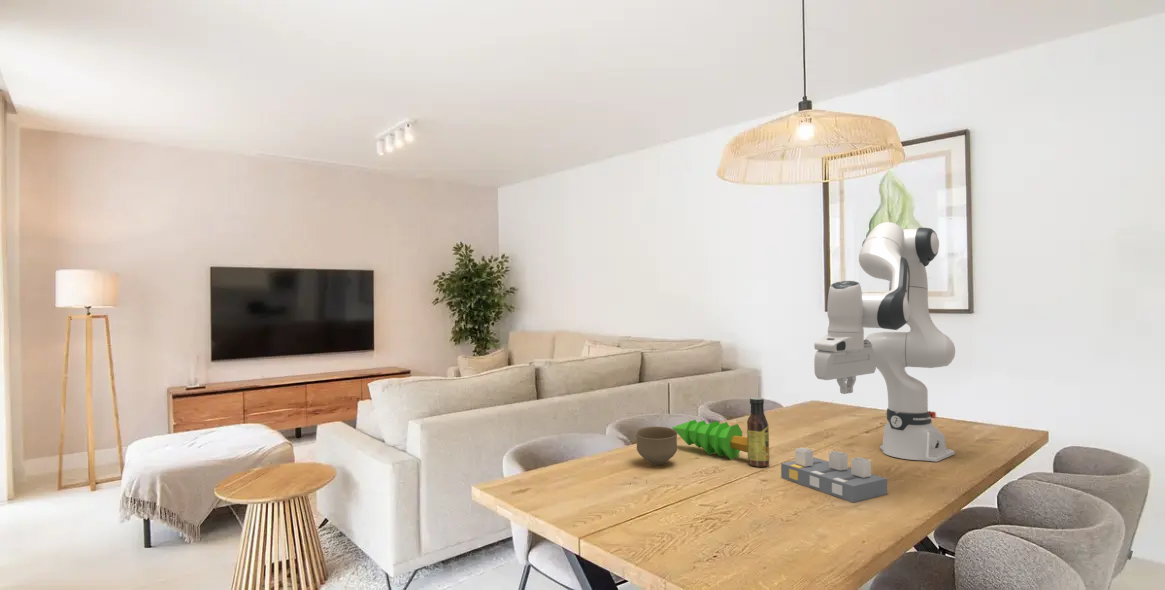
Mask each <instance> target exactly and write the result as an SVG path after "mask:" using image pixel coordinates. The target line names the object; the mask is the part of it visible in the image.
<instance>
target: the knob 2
mask: <svg viewBox="0 0 1165 590" xmlns="http://www.w3.org/2000/svg"><path fill="white" fill-rule="evenodd" d="M848 459H849V458H848V454H847V453H846V452H842V451H838V450H833V451H830V452H828V461H829V468H833V469H836V470H839V471H841V470H846V469H848V467H849V466H848V465H849V464H848V462H849V461H848Z"/></svg>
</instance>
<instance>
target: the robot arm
mask: <svg viewBox="0 0 1165 590" xmlns="http://www.w3.org/2000/svg"><path fill="white" fill-rule="evenodd" d="M860 248H861V249H860V250H859V254H858V263H859V266H860V267H861V268H862V270H863V272H865V273H866V274H868V275H869V276H870V277H872V278H875V279H879V280H885V281H889V282H888V288H889V289H888V291H884V292H862V285H861V283H859V282H857V281H855V280H843V281H837V282H836V281H835V282H833V283H832V284H830V286H829V288H828V289H829V290H828V295H827V311H826V312H827V318H828V321H829V322H828V328H827V334H826V335H825V336H823V337H821V338H820V339H818V340H816V341H815V342H814V344H813V345H814V346H813V348H814V350H816V352H815V354H814V365H813V366H814V367H813V368H814V374H815V377H816V378H817V379H818V380H821V381H822V380H823V381H831V380H836V382H837V384H838V386H839V392H840V393H841V394H842V395H846V394H852V393H853V392H854V385H855V383H856V381H857V376H863V375H869V374H870V375H871V374H874V373H875V372H876V370H877V369H878V371H879V372H880V373H881V375H882V377H883V379H884V380H885V383H886V389H887V390H886V391H887V403H888V405H887V406H888V407H887V409H886V420H887V423H885V425H884V428H883V430H884V431H883V439H882V444H881V445H880V446H879V449H880V450H882V453H883V454H884V455H887V456H890V457H894V458H898V459H903V460H910V461H927V462H940V461H942V460H944V459H947V458H948V457H951V456H954V455H955V451H954V450H953V449H952V448H951V449H950V448H948V447H947V446H946V437H945V435H944V433H943V432H942V431H940V430H939V429H938V428H937V427H936V426H935V425H934V424H933V423H932V422H933V421H932V419H936V417H937V412H936V411H931V410H929V409H928V408H929V407H928V406H929V403H928V402H929V401H928V398H929V397H928V395H929V393H928V388H927V386H926V384H924V383H923V382H922V381H921V380H919V379H917V378H915V377H912V376H911V375H909V374H908V373H907V372H906V368H909V367H910V368H923V369H924V368H926V369H933V368H942V367H947V366H949V365H950V364H951V363H952V362H953V361H954V359H955V357H956V347H955V343H954V342H953V340H952V338H950V337H949V336H947V335H946V334H944V333H943V332H942V331H940V329H939V328H938V327H937V326H936V325H935V323H934V322H933V320H932V318H931V316H930V310H929V309H930V308H929V296H928V295H929V293H928V292H929V290H928V289H929V288H928V287H929V286H928V285H929V282H928V274H927V269H926V267H928V266H929V264H930V262H932V261H933V260H934V259H935V258H936V257H937V254H939V250H940V249H939V248H940V241H939V237H938V235H937V233H936V231H935V230H934V229H933V228H930V227H918V228H902V226H900V225H899V224H897V223H895V222H891V221H884V222H881V223H879V224H876V225H875V226H874V228H873V229H872V230H871V231H870V232H869V233H868V234H867V236H866V238H865V239H864V240H863V242H862V244H861V247H860ZM905 325H908V327H909V328H910V330H909V331H907V332H905V331H903V332H902V331H897V330H899V329H900V328H902V327H904V326H905ZM865 328H867V329H868V328H869V329H871V328H872V329H884V330H891V331H881V332H875V333H870V334H869V335H867V336H866V337H865V336H864V335H865V333H864V331H865V330H864V329H865Z"/></svg>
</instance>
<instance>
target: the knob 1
mask: <svg viewBox="0 0 1165 590" xmlns="http://www.w3.org/2000/svg"><path fill="white" fill-rule="evenodd" d="M813 457H814V451H813V449H809V448H808V447H807V448H806V447H799V448H795V449H794V461H795V464H798V465H801V466H805V467H807V466H812V465H813Z"/></svg>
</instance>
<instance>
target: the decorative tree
mask: <svg viewBox="0 0 1165 590" xmlns="http://www.w3.org/2000/svg"><path fill="white" fill-rule="evenodd" d="M671 429H674V430H676V431H677V433H678V434H677V435H679V437H680V438H681V439H682V440H683V441H684V442H685V443H686V444H687V445H688V446H691V445H695V446H696V447H697V448H699V449H700V448H702V449H703V450H704V451H705V452H706V454H707V455H708V456H710V455H712V454H717V455H718V456H719V457H722V456H726V457H728V459H730V460H733V459H736V458H738V457H739V454H740V452H745V453H747V454H748V442H747V436H743V431H742V429H741V427H740V426H739V424H734V425H731V426H730V425H729V423H728V422H727V421H726V422H722V423H720V422H719V420H716V421H712V422H710V423H709V422H708V423H707V422H706V421H705V420H701V421H698V422H697V420H696V419H693V420H689V421H686V422H683V423H681V424H678V425H675V426H672V427H671Z"/></svg>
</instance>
